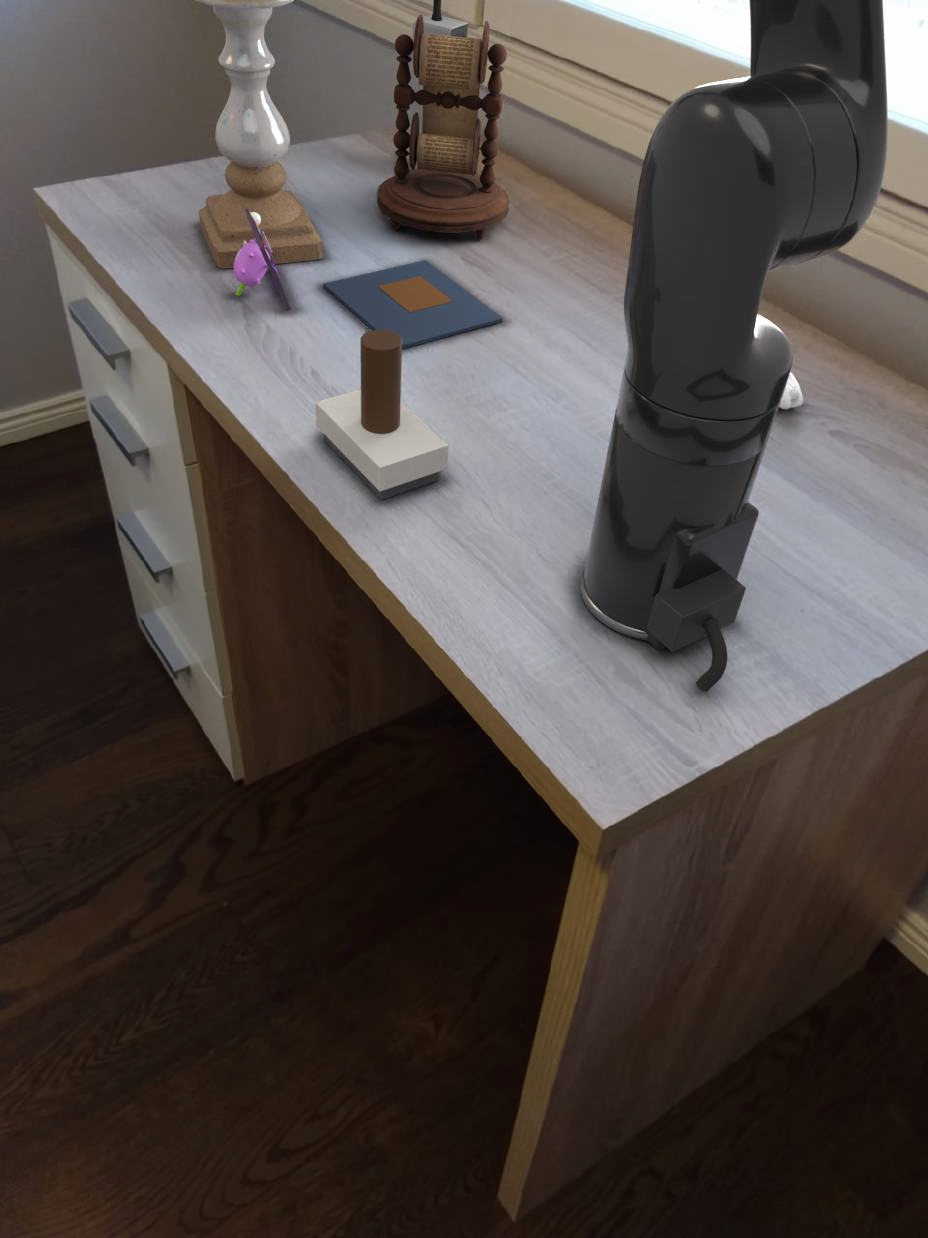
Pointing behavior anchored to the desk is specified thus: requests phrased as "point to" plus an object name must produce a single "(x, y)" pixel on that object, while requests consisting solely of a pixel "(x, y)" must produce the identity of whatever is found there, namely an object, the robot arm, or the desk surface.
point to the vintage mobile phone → (438, 27)
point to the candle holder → (253, 149)
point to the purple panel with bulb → (255, 260)
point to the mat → (412, 303)
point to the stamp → (381, 424)
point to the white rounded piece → (791, 394)
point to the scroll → (446, 136)
